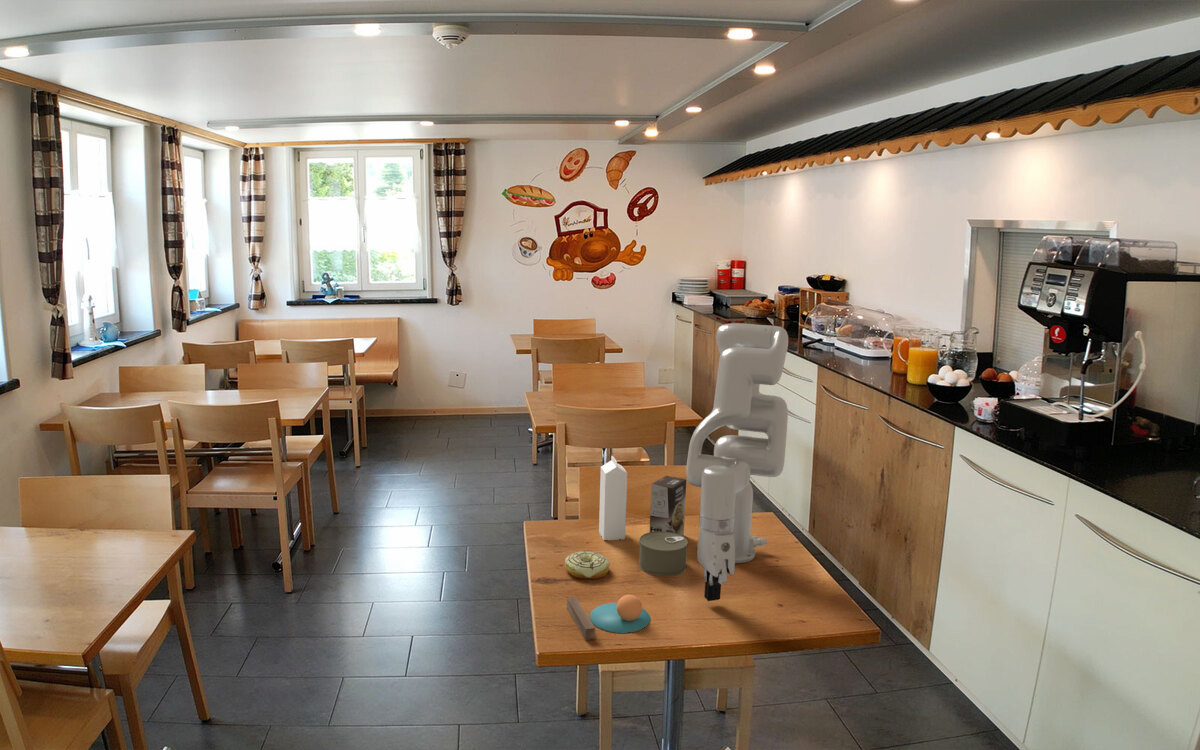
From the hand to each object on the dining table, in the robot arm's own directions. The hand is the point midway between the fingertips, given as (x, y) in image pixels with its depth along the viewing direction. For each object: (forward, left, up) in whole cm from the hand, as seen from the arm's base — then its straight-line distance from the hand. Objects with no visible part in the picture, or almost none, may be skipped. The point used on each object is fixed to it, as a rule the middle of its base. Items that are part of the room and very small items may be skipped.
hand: (712, 598), depth 182 cm
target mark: (+22, 0, -2) cm, 22 cm away
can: (+3, -22, -2) cm, 22 cm away
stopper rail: (+31, 0, -2) cm, 31 cm away
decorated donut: (+22, -24, -2) cm, 33 cm away
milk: (+9, -43, -2) cm, 44 cm away
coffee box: (-5, -38, -2) cm, 38 cm away
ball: (+20, +1, +1) cm, 20 cm away
